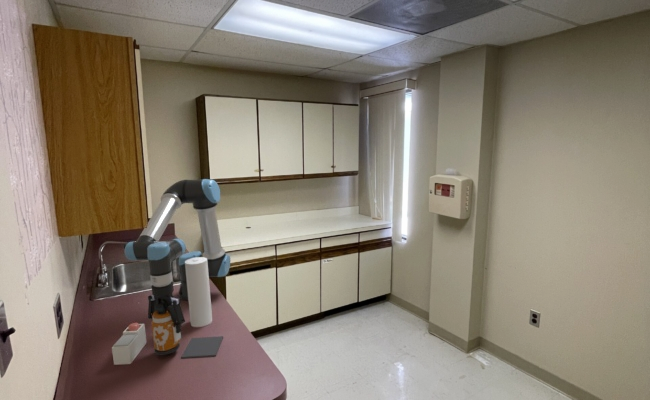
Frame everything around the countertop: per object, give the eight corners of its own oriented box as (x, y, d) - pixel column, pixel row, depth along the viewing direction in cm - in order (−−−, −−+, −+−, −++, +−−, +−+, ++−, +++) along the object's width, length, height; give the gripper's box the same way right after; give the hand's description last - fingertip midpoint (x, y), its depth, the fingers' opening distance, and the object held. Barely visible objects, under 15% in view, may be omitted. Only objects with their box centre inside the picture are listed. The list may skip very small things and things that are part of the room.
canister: (150, 356, 131) (144, 307, 128) (164, 339, 142) (159, 294, 139) (173, 356, 131) (168, 307, 127) (185, 339, 142) (181, 294, 138)
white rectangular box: (132, 343, 143) (129, 324, 142) (147, 342, 143) (144, 323, 142) (114, 364, 129) (111, 343, 128) (130, 363, 130) (128, 342, 128)
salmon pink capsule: (133, 341, 142) (131, 322, 140) (142, 340, 142) (140, 322, 141) (128, 346, 138) (126, 327, 137) (138, 345, 138) (135, 327, 137)
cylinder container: (205, 328, 154) (199, 263, 149) (186, 326, 156) (180, 262, 151) (216, 317, 163) (211, 256, 158) (198, 316, 165) (192, 255, 160)
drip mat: (191, 339, 145) (191, 338, 145) (223, 337, 146) (223, 336, 146) (181, 358, 132) (181, 356, 132) (215, 356, 133) (215, 354, 133)
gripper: (132, 283, 132) (139, 337, 136) (176, 291, 124) (182, 348, 128) (149, 276, 139) (155, 327, 143) (191, 283, 131) (197, 337, 135)
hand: (168, 337), depth 135 cm, fingers closed on canister, 9 cm apart
